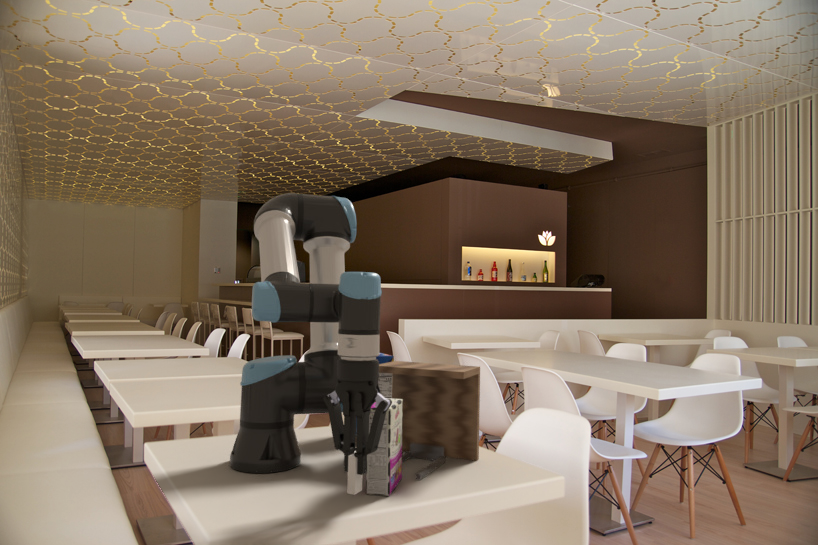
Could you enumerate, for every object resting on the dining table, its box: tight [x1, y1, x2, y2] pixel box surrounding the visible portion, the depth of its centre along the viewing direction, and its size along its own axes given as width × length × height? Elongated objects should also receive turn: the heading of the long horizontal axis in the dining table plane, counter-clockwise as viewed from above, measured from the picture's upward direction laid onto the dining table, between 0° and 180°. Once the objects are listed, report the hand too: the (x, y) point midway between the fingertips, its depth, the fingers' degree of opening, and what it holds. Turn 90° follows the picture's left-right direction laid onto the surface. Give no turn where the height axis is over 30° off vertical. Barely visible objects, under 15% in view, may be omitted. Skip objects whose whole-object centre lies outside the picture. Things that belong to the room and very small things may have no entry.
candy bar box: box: [365, 398, 403, 497], centre depth 112 cm, size 11×5×16 cm, turn 168°
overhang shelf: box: [379, 360, 481, 481], centre depth 128 cm, size 22×21×22 cm
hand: (354, 491), depth 101 cm, fingers closed
